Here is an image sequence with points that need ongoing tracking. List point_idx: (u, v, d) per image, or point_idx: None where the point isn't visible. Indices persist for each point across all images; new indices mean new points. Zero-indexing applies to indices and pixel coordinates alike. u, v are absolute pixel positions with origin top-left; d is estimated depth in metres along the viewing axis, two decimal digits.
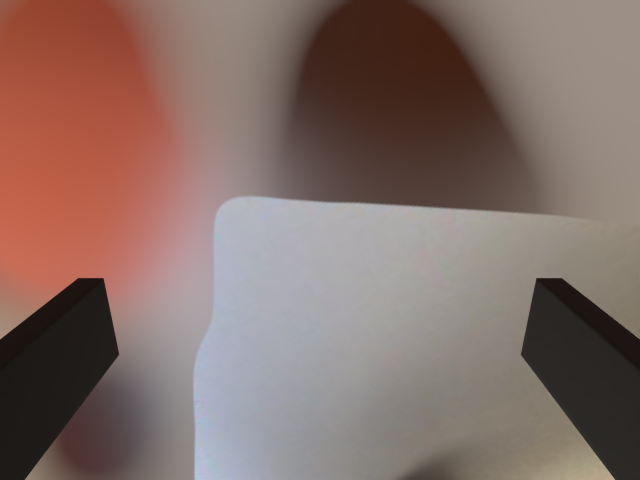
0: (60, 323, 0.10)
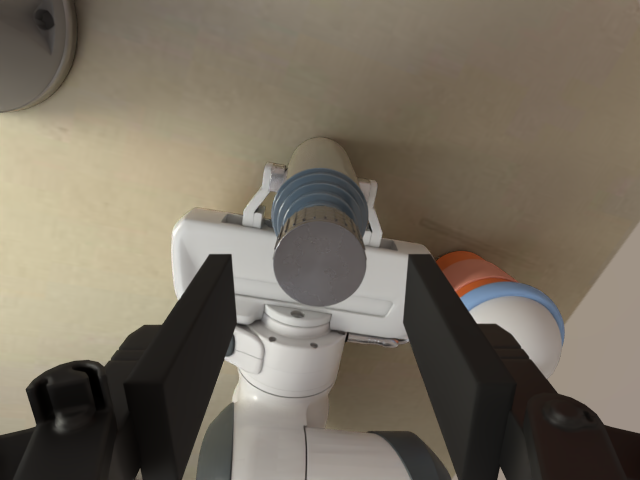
0: (216, 288, 0.12)
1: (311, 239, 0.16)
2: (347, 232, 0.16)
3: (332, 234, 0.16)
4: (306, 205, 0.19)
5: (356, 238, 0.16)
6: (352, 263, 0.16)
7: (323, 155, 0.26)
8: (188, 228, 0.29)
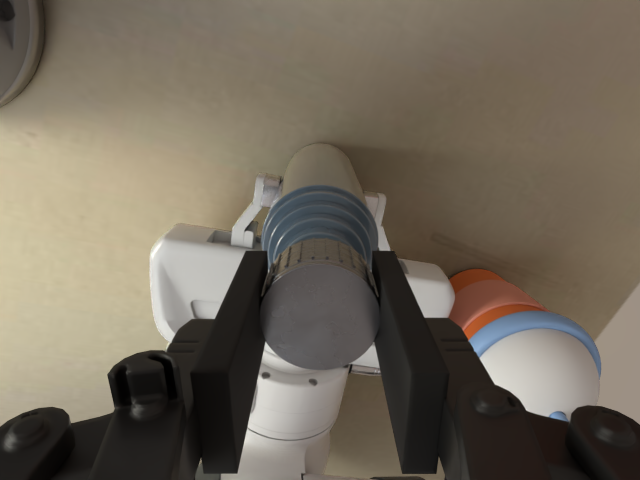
0: (259, 283, 0.12)
1: (308, 287, 0.12)
2: (356, 278, 0.12)
3: (336, 280, 0.12)
4: (303, 234, 0.15)
5: (368, 285, 0.12)
6: (362, 317, 0.12)
7: (324, 167, 0.22)
8: (168, 249, 0.25)
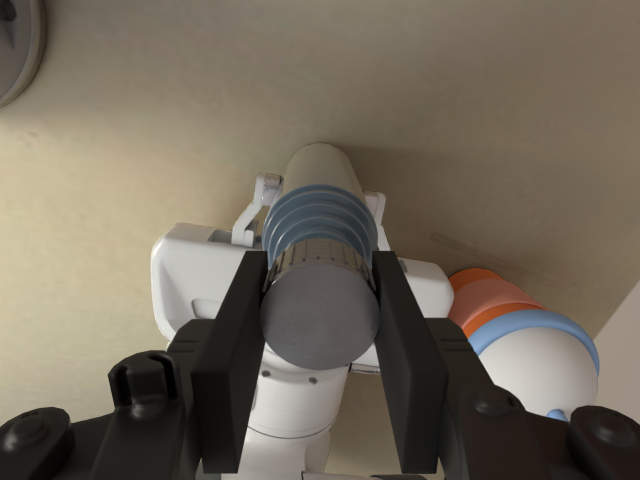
0: (259, 283, 0.12)
1: (298, 346, 0.13)
2: (261, 321, 0.12)
3: (276, 332, 0.13)
4: (303, 232, 0.16)
5: (260, 308, 0.12)
6: (289, 292, 0.12)
7: (324, 166, 0.22)
8: (169, 248, 0.26)
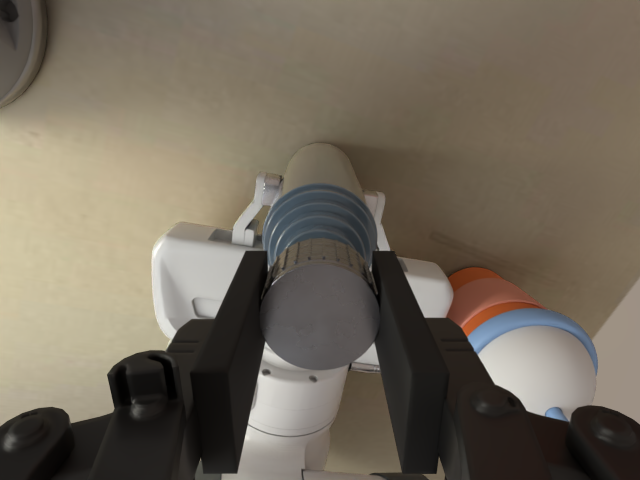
0: (258, 284, 0.12)
1: (358, 318, 0.12)
2: (355, 358, 0.13)
3: (357, 342, 0.13)
4: (303, 231, 0.16)
5: (344, 365, 0.13)
6: (313, 355, 0.13)
7: (324, 166, 0.22)
8: (170, 247, 0.26)
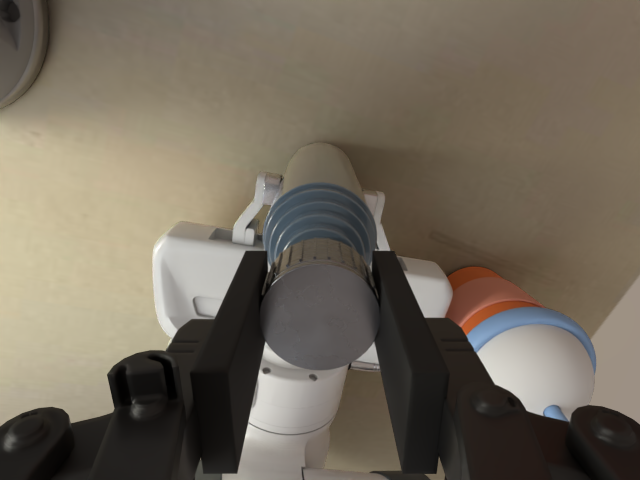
0: (258, 284, 0.12)
1: (294, 294, 0.12)
2: (332, 268, 0.12)
3: (315, 278, 0.12)
4: (303, 230, 0.16)
5: (347, 270, 0.12)
6: (357, 301, 0.12)
7: (324, 165, 0.22)
8: (171, 246, 0.26)
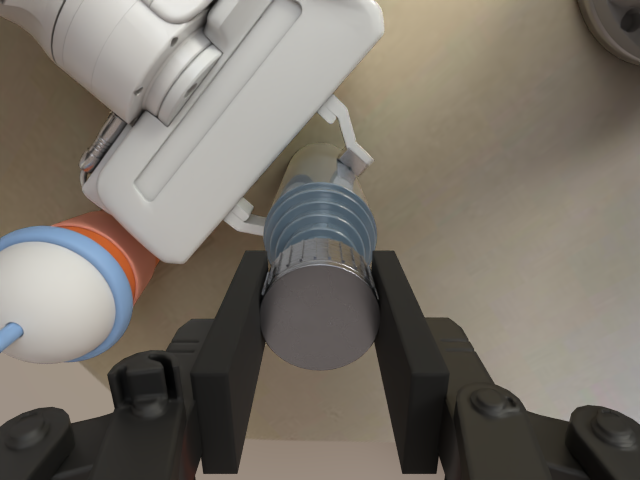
0: (258, 283, 0.12)
1: (294, 294, 0.12)
2: (333, 268, 0.12)
3: (316, 278, 0.12)
4: None
5: (347, 270, 0.12)
6: (357, 301, 0.12)
7: None
8: (371, 31, 0.22)
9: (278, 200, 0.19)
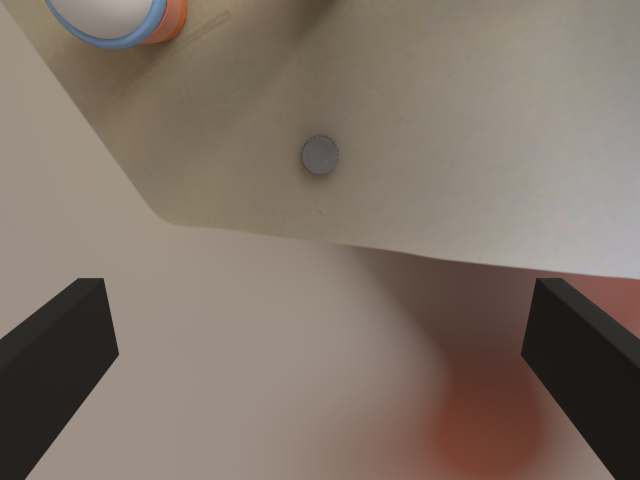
0: (61, 323, 0.10)
1: (312, 147, 0.42)
2: (323, 139, 0.41)
3: (319, 142, 0.42)
4: None
5: (328, 140, 0.42)
6: (331, 150, 0.42)
7: None
8: None
9: None
